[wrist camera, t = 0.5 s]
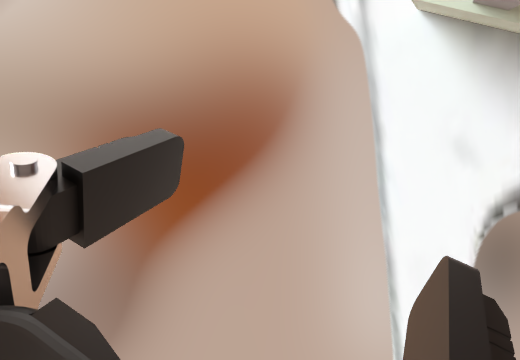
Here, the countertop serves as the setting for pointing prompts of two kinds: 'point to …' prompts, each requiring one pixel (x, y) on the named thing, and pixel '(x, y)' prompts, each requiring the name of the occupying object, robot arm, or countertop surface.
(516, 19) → the tab block
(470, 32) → the countertop surface
